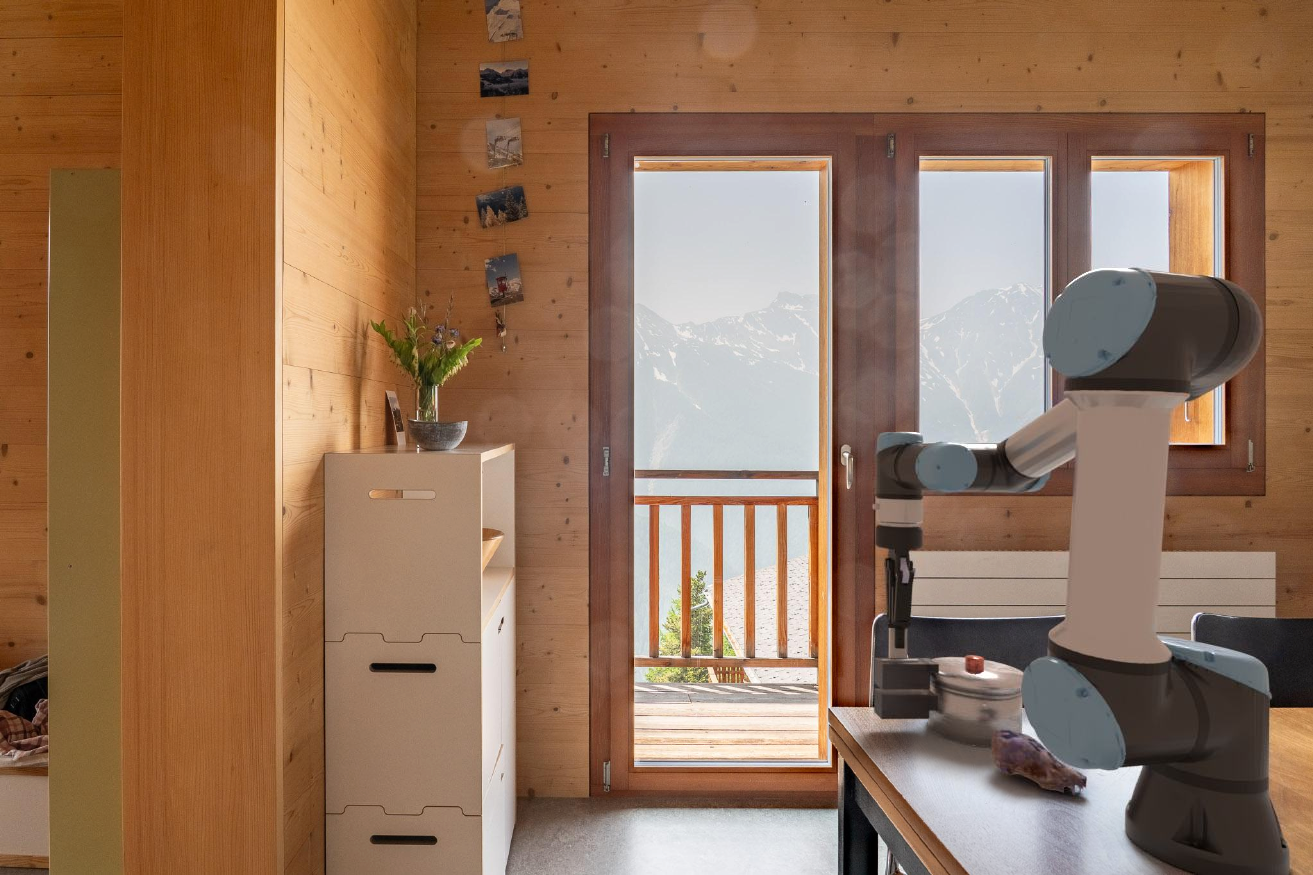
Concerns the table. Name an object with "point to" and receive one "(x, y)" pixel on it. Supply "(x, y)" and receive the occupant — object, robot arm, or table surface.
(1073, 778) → the skull
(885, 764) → the table surface
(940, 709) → the pot
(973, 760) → the table surface
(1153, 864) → the table surface
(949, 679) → the lid
